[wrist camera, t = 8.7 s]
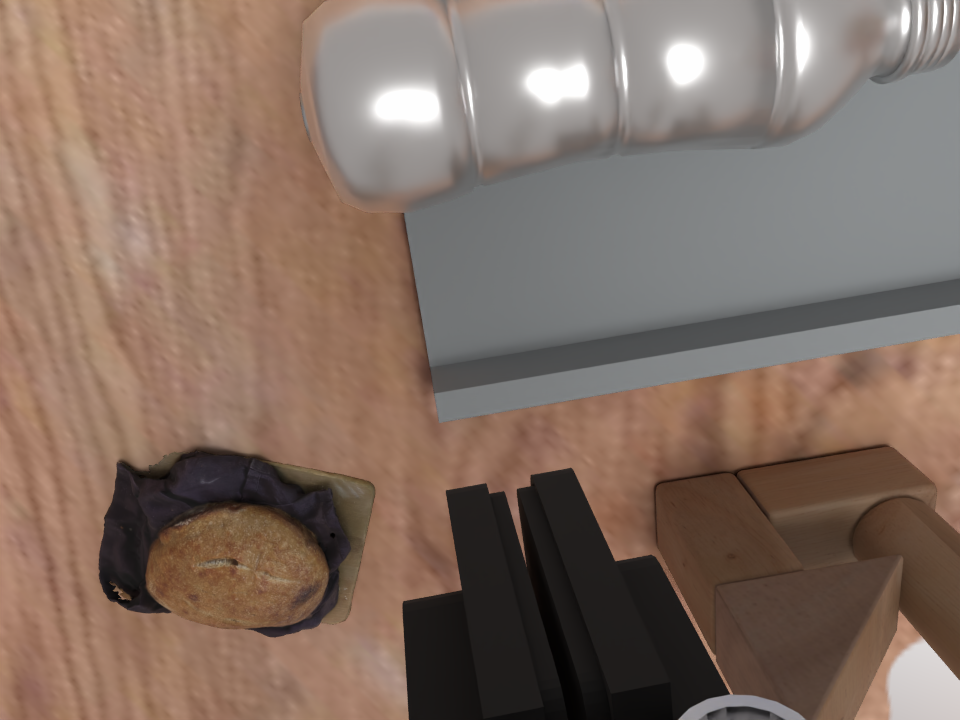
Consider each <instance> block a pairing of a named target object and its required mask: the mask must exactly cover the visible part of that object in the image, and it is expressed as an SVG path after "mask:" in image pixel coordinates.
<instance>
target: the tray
mask: <svg viewBox="0 0 960 720" xmlns="http://www.w3.org/2000/svg"><path fill="white" fill-rule="evenodd" d="M404 217H405V223H406V229H407V234H408V240H409V246H410V252H411V258H412V264H413V270H414V276H415V282H416V287H417V293H418V299H419V305H420V311H421V317H422V323H423V329H424V335H425V340H426V346H427V352H428V358H429V364H430V370H431V376H432V383H433V389H434V395H435V401H436V407H437V413H438V419H439V423H441V422H447V421H453V420H459V419H465V418H471V417H476V416H482V415H488V414H494V413H500V412H506V411H511V410H517V409H523V408H529V407H535V406H541V405H546V404H552V403H558V402H564V401H570V400H576V399H581V398H587V397H593V396H599V395H605V394H611V393H616V392H622V391H628V390H634V389H640V388H646V387H651V386H657V385H663V384H669V383H675V382H681V381H686V380H692V379H698V378H704V377H710V376H716V375H721V374H727V373H733V372H739V371H745V370H751V369H756V368H762V367H768V366H774V365H780V364H786V363H791V362H797V361H803V360H809V359H815V358H821V357H826V356H832V355H838V354H844V353H850V352H856V351H861V350H867V349H873V348H879V347H885V346H891V345H896V344H902V343H908V342H914V341H920V340H926V339H931V338H937V337H943V336H949V335H955V334H960V49H959V51H958V53H957V54H956V55H955V57H954V58H953V59H952V60H951V61H950V62H949V63H948V64H947V65H946V66H944V67H942V68H939V69H937V70H935V71H930V72H925V73H919V74H914V75H909V76H907V77H906V78H904V79H902V80H900V81H896V82H891V83H886V84H878V83H875V82H873V81H872V80H870V79H868V80H867V81H866V82H865V84H864V85H863V86H862V87H861V88H860V89H859V90H858V91H857V92H856V94H855V95H854V96H853V97H852V98H851V99H850V100H849V101H848V102H847V104H846V105H845V106H844V107H843V108H842V109H841V110H839V111H838V112H837V113H836V114H835V115H834V116H833V117H832V118H831V119H830V120H828V121H827V122H826V123H825V124H824V125H823V126H822V127H821V128H820V129H818V130H816V131H815V132H813V133H811V134H809V135H807V136H805V137H803V138H801V139H799V140H797V141H795V142H793V143H790V144H788V145H786V146H782V147H770V148H761V149H750V148H749V149H722V150H682V151H664V152H656V153H648V154H639V155H631V156H620V155H619V154H617V155H611V156H610V157H609V158H606V159H597V160H589V161H580V162H575V163H572V164H568V165H564V166H560V167H556V168H552V169H548V170H544V171H541V172H537V173H533V174H529V175H525V176H521V177H517V178H513V179H510V180H506V181H502V182H498V183H494V184H490V185H486V186H484V185H483V184H482V185H479V186H477V187H474V188H473V192H470V193H468V194H465V195H463V196H460V197H458V198H455V199H453V200H450V201H447V202H444V203H441V204H437V205H434V206H431V207H428V208H424V209H421V210H418V211H415V212H411V213H404Z"/></svg>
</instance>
